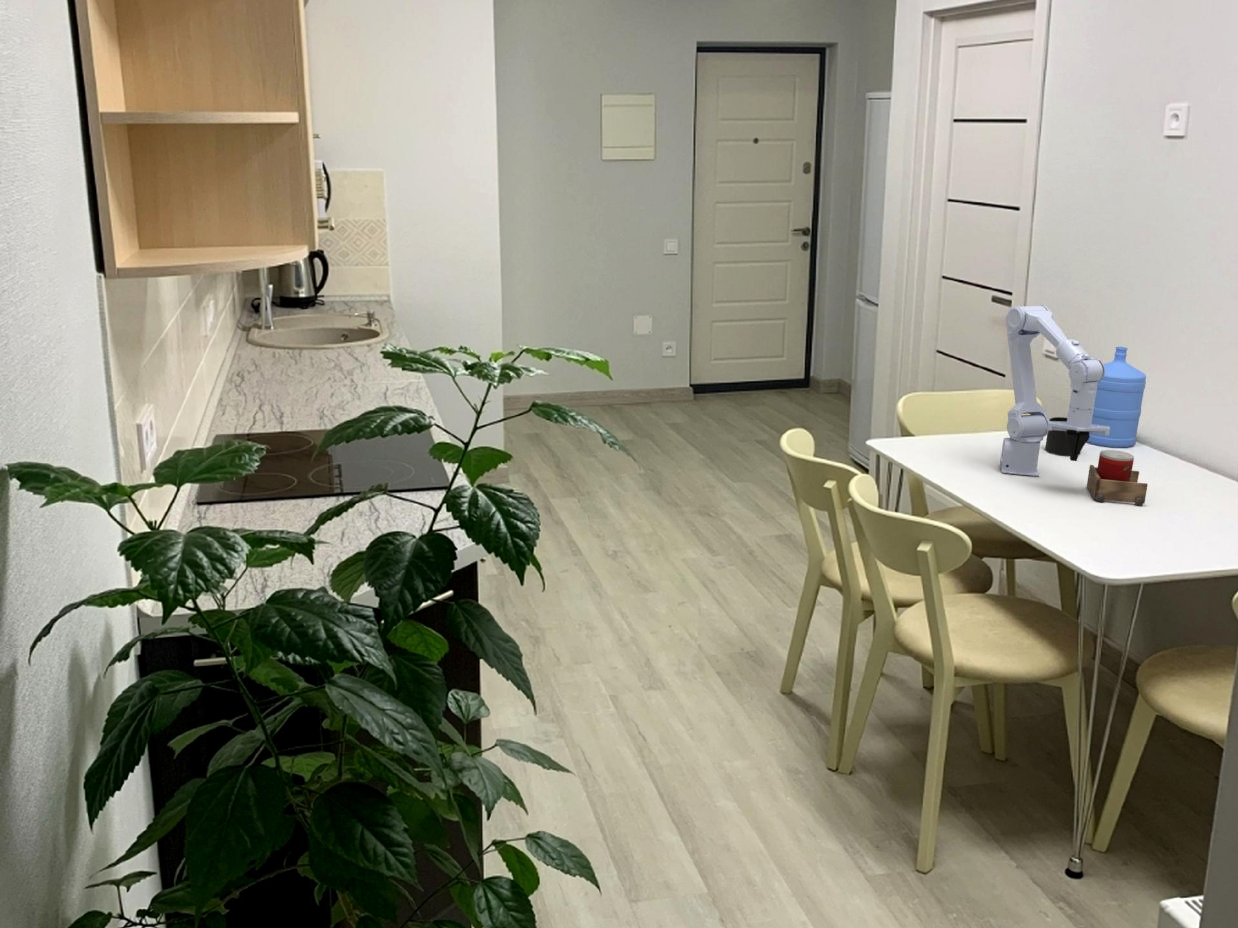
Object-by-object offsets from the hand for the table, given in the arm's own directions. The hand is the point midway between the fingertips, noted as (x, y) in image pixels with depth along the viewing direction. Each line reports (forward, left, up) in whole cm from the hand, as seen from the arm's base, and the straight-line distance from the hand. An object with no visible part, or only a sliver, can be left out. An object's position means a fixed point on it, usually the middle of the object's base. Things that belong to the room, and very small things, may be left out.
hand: (1073, 459), depth 300 cm
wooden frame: (+11, 0, -8) cm, 14 cm away
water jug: (+18, +57, -9) cm, 60 cm away
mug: (+3, +41, -9) cm, 42 cm away
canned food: (+10, 0, -9) cm, 13 cm away
